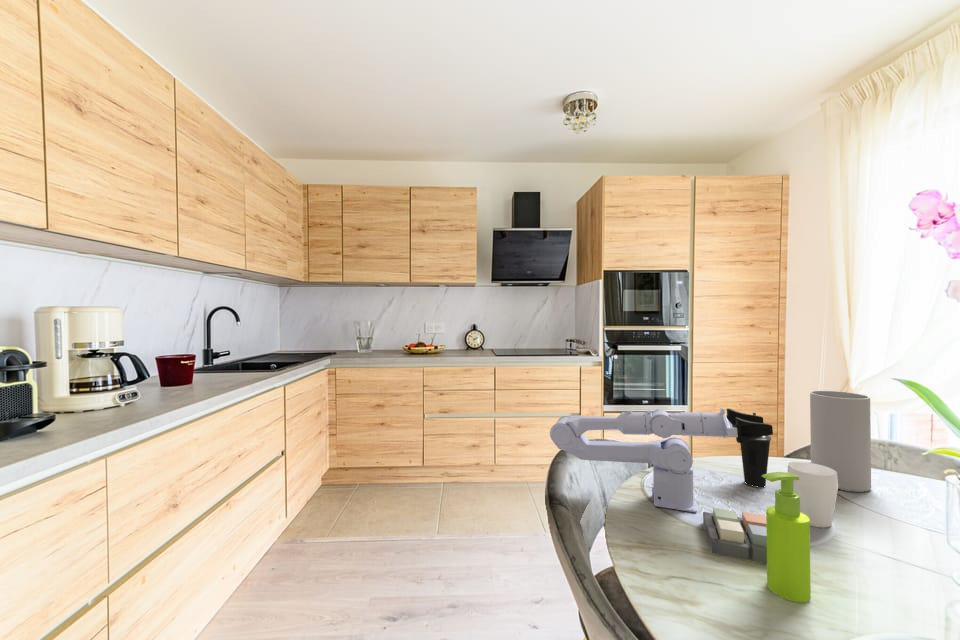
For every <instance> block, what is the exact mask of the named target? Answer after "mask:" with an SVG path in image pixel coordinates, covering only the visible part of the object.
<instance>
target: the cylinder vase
mask: <svg viewBox="0 0 960 640" xmlns="http://www.w3.org/2000/svg"><path fill="white" fill-rule="evenodd" d="M809 399H810V400H809V405H810V406H809V413H810V414H809V415H810V417H809V419H810V421H809V422H810V427H809V428H810V463H814V464H818V465H822V466H826V467H829V468H831V469H833V470H835V471H836V472H837V480H838V489H841V490H840V491H843V490H845V491H844V492H850V491H853V492H852V493H865V492H868V491H870V490H871V489H872V442H871V441H872V438H871V435H872V434H871V431H872V430H871V425H872V424H871V397H870V396H869V395H866V394H860V393H855V392H846V391H837V390H836V391H835V390H812V391H809ZM864 491H865V492H864Z"/></svg>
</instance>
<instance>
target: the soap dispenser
mask: <svg viewBox="0 0 960 640" xmlns="http://www.w3.org/2000/svg"><path fill="white" fill-rule="evenodd" d="M762 477H763V478H765V479H766V481H768V482H771V483H773V482H778V481H780V488H779V489H777V490H775V492H774V506H769V507H767V508H766V511H765V512H766V513H765V514H766V515H765V518H766V522H767V564H766V586H767V587H768V588H769V590H770V591H771V592H773V594H775V595H776V596H778V597H780V598H783V599H784V598H785V600H787V601H790V600H791V602H794V601H795V602H794V603H807V602H806V601H808V602H809V601H810V600H811V593H812V592H811V525H810V519H809V517H808V516H806V515H805V514H803V513H801V512H800V496H799V495H798V494H796V493H795V492H793V480H799V476H796V475H794V474H792V473H789V472H788V471H784V472H783V471H774V472H767V474H764V475H762Z"/></svg>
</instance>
